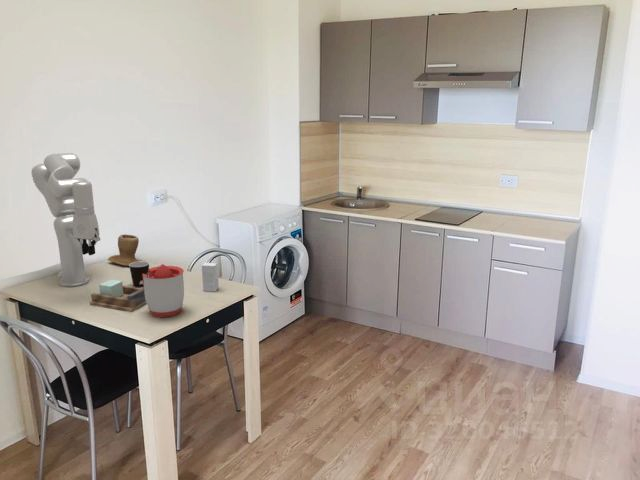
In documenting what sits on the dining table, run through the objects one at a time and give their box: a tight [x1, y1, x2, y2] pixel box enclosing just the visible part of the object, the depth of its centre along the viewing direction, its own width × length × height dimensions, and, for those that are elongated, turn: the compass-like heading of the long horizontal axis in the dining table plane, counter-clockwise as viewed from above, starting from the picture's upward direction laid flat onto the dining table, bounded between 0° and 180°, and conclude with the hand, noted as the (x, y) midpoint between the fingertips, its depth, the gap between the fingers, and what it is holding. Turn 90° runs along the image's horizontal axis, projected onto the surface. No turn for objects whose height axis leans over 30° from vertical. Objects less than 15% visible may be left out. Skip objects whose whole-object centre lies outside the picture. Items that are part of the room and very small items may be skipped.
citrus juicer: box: [140, 264, 185, 318], centre depth 212 cm, size 16×17×20 cm
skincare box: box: [201, 262, 220, 292], centre depth 238 cm, size 6×4×12 cm
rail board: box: [89, 285, 147, 313], centre depth 224 cm, size 21×16×6 cm
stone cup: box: [107, 233, 140, 267], centre depth 274 cm, size 15×12×15 cm
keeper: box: [98, 279, 124, 297], centre depth 226 cm, size 6×7×6 cm
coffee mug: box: [129, 260, 150, 288], centre depth 245 cm, size 12×9×10 cm
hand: (89, 253), depth 225 cm, fingers open, 2 cm apart
